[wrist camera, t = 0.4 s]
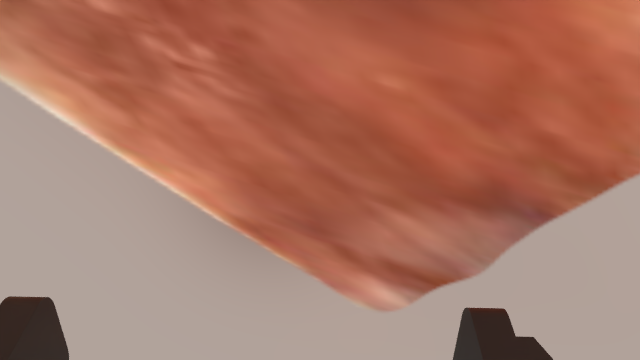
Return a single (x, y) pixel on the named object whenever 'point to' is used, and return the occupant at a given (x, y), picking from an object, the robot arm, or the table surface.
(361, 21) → the table surface
